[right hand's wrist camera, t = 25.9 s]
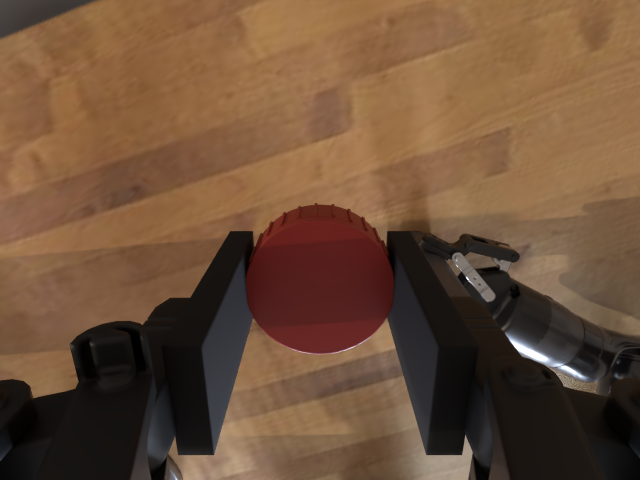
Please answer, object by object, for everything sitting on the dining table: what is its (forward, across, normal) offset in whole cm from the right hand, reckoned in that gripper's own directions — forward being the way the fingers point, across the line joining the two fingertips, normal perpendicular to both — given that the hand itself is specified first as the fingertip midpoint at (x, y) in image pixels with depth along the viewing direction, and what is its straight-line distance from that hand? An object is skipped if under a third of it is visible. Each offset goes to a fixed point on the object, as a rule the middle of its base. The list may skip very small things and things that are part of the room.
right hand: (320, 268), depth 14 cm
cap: (-1, 0, 0) cm, 1 cm away
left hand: (+29, +9, -12) cm, 33 cm away
